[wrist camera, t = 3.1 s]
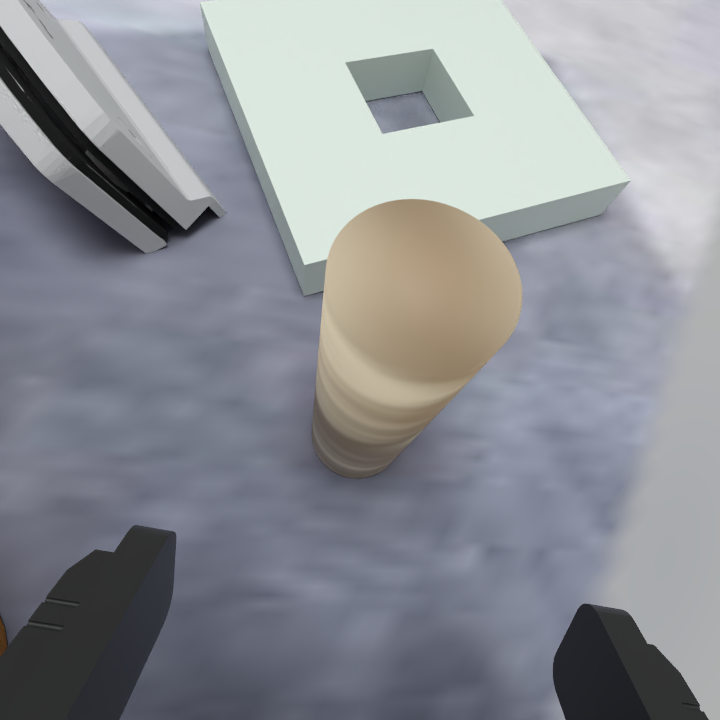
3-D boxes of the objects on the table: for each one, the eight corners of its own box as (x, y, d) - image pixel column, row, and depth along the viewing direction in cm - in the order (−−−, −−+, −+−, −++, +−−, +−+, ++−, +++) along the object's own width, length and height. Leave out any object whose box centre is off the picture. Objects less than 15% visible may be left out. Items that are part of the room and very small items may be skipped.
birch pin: (329, 492, 22) (370, 400, 9) (299, 406, 24) (297, 222, 11) (415, 459, 23) (558, 336, 10) (381, 379, 25) (469, 182, 12)
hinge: (230, 217, 27) (115, 89, 18) (165, 268, 27) (15, 168, 18) (98, 41, 31) (-55, -142, 22) (41, 85, 32) (-136, -77, 22)
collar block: (304, 296, 26) (304, 264, 23) (208, 49, 32) (199, 2, 30) (601, 214, 31) (630, 180, 28) (466, 13, 37) (479, -30, 34)
